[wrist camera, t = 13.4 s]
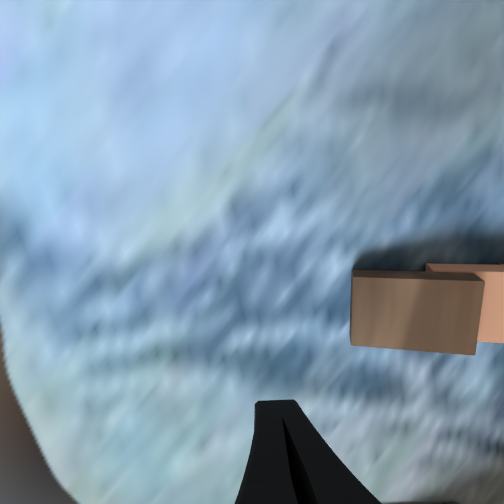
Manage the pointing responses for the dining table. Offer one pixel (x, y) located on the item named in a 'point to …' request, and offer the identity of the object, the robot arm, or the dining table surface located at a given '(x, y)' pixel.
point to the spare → (484, 297)
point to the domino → (416, 310)
